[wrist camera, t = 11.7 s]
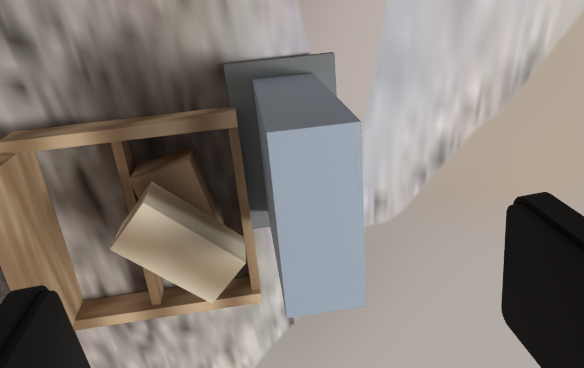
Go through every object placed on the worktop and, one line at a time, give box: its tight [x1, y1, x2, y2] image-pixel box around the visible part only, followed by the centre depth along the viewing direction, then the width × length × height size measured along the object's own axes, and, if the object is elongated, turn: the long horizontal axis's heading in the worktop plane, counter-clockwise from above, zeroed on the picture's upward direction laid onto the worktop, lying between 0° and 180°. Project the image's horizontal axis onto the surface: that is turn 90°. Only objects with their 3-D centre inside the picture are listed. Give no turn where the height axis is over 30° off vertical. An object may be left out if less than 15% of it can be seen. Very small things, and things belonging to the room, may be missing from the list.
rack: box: [0, 107, 262, 330], centre depth 38 cm, size 18×18×8 cm
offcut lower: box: [129, 145, 227, 227], centre depth 40 cm, size 5×11×4 cm, turn 17°
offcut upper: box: [110, 182, 246, 304], centre depth 37 cm, size 5×9×4 cm, turn 52°
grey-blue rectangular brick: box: [253, 73, 366, 318], centre depth 33 cm, size 5×12×15 cm, turn 5°
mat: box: [223, 52, 336, 229], centre depth 41 cm, size 9×15×1 cm, turn 5°
